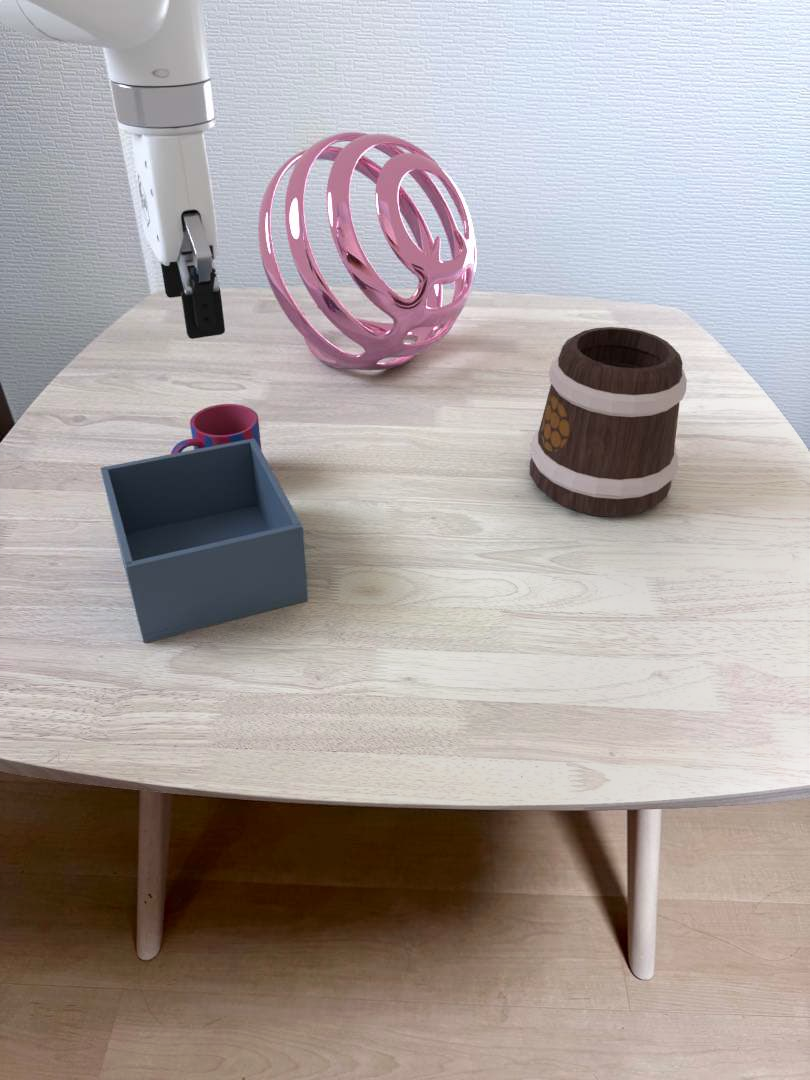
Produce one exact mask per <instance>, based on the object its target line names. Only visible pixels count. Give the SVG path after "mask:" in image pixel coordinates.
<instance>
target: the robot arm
mask: <svg viewBox="0 0 810 1080" xmlns="http://www.w3.org/2000/svg"><path fill="white" fill-rule="evenodd" d="M204 11H205V10H204V2H203V0H0V23H1V24H3V25H4V26H5V27H7V28H9V29H12V30H14V31H15V32H18V33H21V34H23V35H26V36H29V37H34V38H39V39H45V40H52V41H58V42H65V43H75V44H80V45H81V44H82V45H88V46H94V47H99V48H104V52H105V57H106V63H107V68H108V69H107V70H108V75H109V80H110V86H111V91H112V98H113V103H114V108H115V114H116V120H117V127H118V129H119V130H121V131H122V132H126V133H128V134H131V135H130V137H131V147H132V156H133V163H134V171H135V178H136V186H137V192H138V193H137V194H138V199H139V200H138V201H139V207H140V214H141V215H140V216H141V223H142V230H143V234H144V237H145V239H146V242H147V243H148V245H149V247H150V249H151V251H152V252H153V254H154V255H155V257H156V259H157V261H158V262H159V263H160V267H161V273H162V281H163V285H164V286H163V287H164V292H165V295H166V297H168V298H169V299H170V298H171V299H172V298H179V297H181V298H180V299H181V304H182V305H181V306H182V311H183V318H184V326H185V331H186V335H187V337H188V338H189V339H191V340H195V339H201V338H208V337H215V336H221V335H223V334H225V332H226V327H225V318H224V310H223V301H222V294H221V288H220V284H219V279H218V274H217V271H216V268H215V267H216V266H215V262H214V260H215V259H216V258H217V257H218V256H219V253H220V250H219V249H220V248H219V247H220V246H219V245H220V244H219V232H218V224H217V223H218V221H217V213H216V206H215V200H214V199H215V197H214V191H213V183H212V176H211V170H210V158H209V157H208V150H207V144H206V138H205V137H206V136H205V132H206V131H208V130H211V129H213V128H215V126H216V125H217V121H216V113H215V103H214V95H213V87H212V75H211V65H210V59H209V57H210V56H209V47H208V39H207V30H206V21H205V20H206V19H205V12H204Z"/></svg>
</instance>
